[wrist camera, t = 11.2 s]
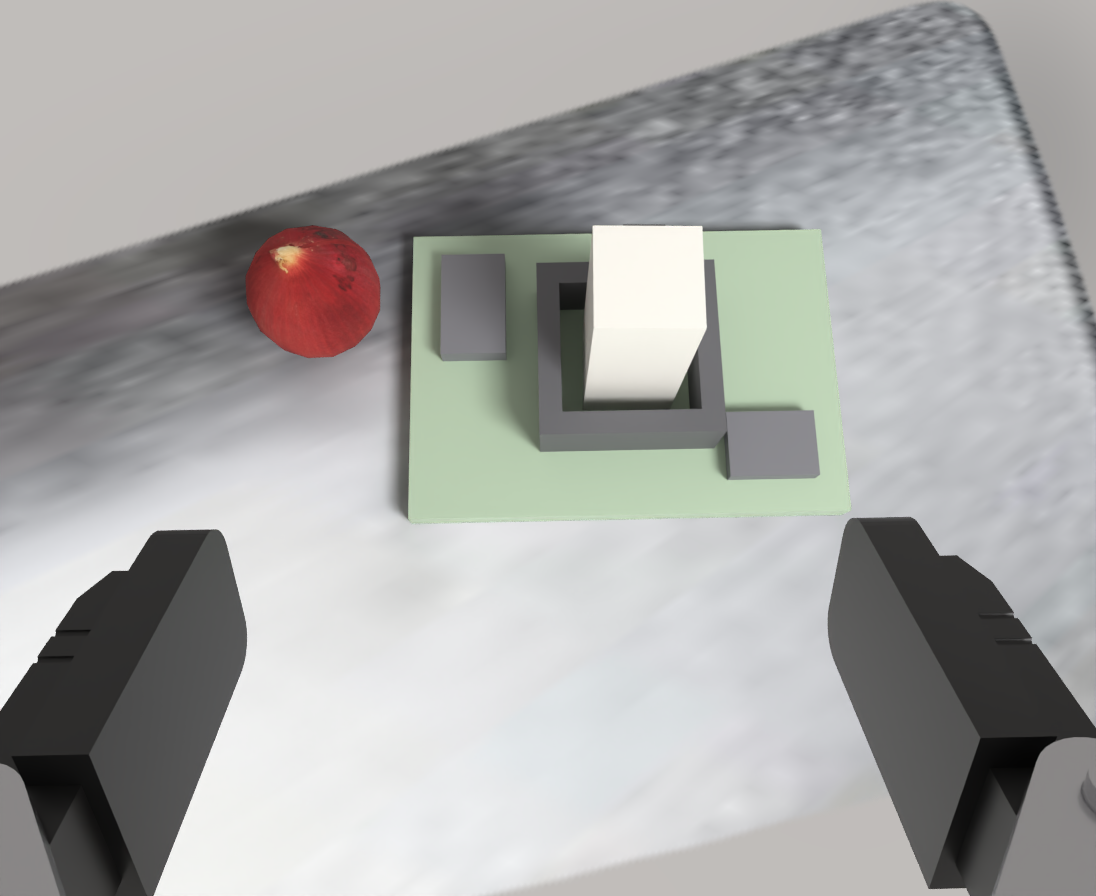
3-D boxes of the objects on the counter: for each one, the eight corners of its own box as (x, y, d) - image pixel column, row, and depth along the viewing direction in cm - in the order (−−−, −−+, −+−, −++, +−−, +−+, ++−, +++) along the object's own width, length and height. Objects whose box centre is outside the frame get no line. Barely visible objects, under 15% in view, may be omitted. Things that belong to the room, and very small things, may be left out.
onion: (331, 248, 44) (284, 157, 36) (417, 315, 43) (388, 236, 35) (250, 333, 43) (185, 258, 35) (338, 403, 42) (290, 341, 34)
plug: (582, 410, 41) (594, 327, 31) (582, 318, 42) (592, 210, 32) (668, 410, 41) (706, 328, 31) (665, 318, 42) (701, 211, 32)
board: (412, 523, 41) (396, 506, 36) (417, 248, 44) (403, 205, 40) (842, 514, 41) (875, 497, 37) (813, 240, 44) (840, 197, 40)
